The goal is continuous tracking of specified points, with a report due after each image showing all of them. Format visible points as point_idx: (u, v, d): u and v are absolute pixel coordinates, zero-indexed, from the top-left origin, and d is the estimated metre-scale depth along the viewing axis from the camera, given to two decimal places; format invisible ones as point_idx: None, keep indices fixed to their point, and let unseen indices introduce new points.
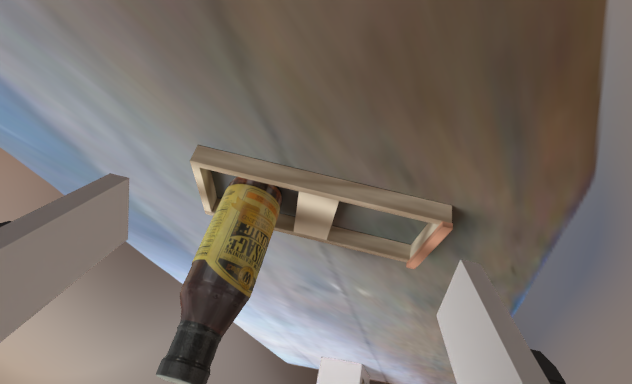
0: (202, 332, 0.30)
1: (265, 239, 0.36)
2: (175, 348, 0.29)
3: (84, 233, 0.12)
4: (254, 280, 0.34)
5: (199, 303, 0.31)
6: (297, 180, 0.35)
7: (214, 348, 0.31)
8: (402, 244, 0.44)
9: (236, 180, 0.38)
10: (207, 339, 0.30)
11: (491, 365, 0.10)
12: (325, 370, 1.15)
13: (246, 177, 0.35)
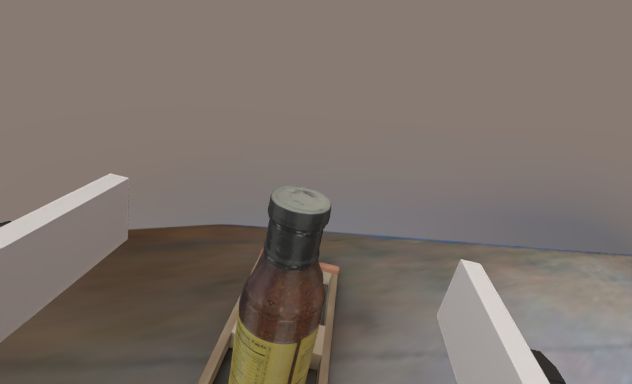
0: None
1: None
2: (270, 228, 0.24)
3: (84, 233, 0.12)
4: None
5: None
6: None
7: None
8: (328, 288, 0.48)
9: None
10: None
11: (491, 365, 0.10)
12: None
13: (208, 376, 0.30)
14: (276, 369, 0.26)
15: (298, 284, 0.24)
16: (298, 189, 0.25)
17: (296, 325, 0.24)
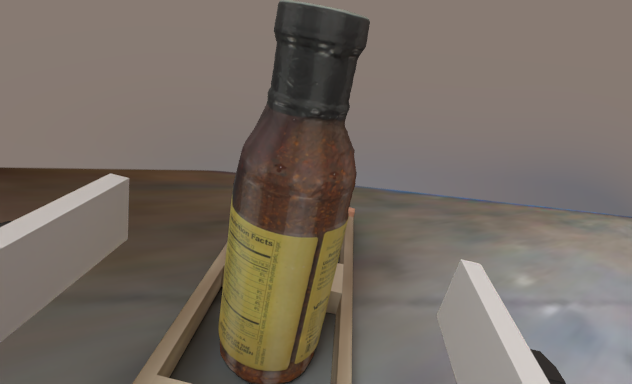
0: None
1: None
2: (278, 54, 0.16)
3: (84, 233, 0.12)
4: None
5: None
6: None
7: None
8: None
9: (222, 351, 0.21)
10: None
11: (491, 365, 0.10)
12: None
13: (192, 310, 0.22)
14: (288, 280, 0.18)
15: (320, 142, 0.16)
16: None
17: (317, 207, 0.16)
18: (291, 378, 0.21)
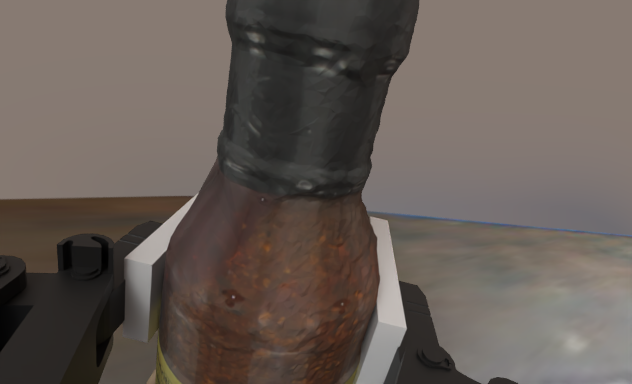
0: None
1: None
2: (233, 68, 0.08)
3: None
4: None
5: None
6: None
7: None
8: None
9: None
10: None
11: None
12: None
13: None
14: None
15: (316, 242, 0.08)
16: None
17: (308, 364, 0.08)
18: None
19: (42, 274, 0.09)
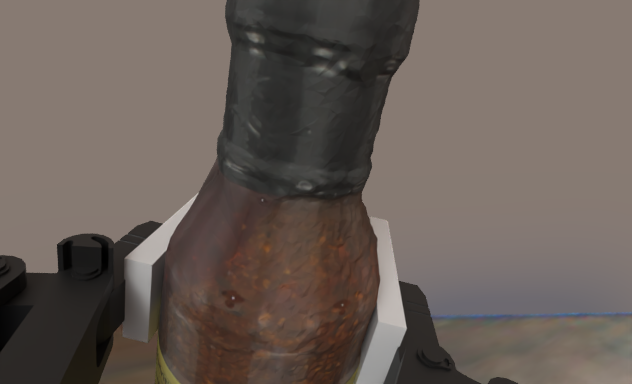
0: None
1: None
2: (232, 68, 0.08)
3: None
4: None
5: None
6: None
7: None
8: None
9: None
10: None
11: None
12: None
13: None
14: None
15: (316, 243, 0.08)
16: None
17: (308, 364, 0.08)
18: None
19: (43, 273, 0.09)
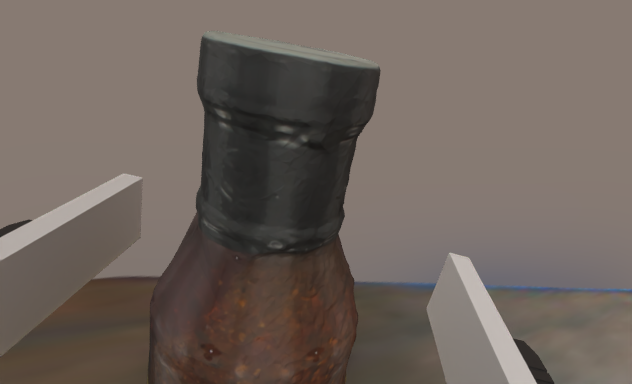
0: None
1: None
2: (205, 134, 0.08)
3: (100, 232, 0.12)
4: None
5: None
6: None
7: None
8: None
9: None
10: None
11: (475, 354, 0.10)
12: None
13: None
14: None
15: (289, 296, 0.08)
16: (286, 43, 0.09)
17: None
18: None
19: None
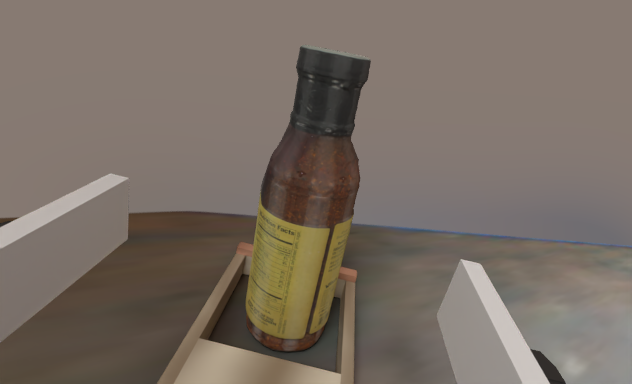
0: None
1: None
2: (300, 86, 0.20)
3: (84, 233, 0.12)
4: None
5: None
6: None
7: None
8: (340, 303, 0.31)
9: (249, 324, 0.26)
10: None
11: (491, 365, 0.10)
12: None
13: None
14: (306, 262, 0.22)
15: (332, 153, 0.21)
16: None
17: (330, 204, 0.21)
18: (306, 346, 0.25)
19: None
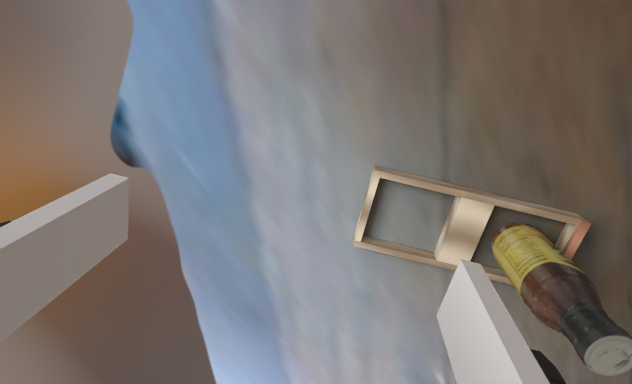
0: (601, 309, 0.31)
1: None
2: (593, 320, 0.30)
3: (84, 233, 0.12)
4: None
5: (578, 289, 0.33)
6: (459, 188, 0.44)
7: None
8: None
9: (509, 226, 0.45)
10: None
11: (491, 365, 0.10)
12: None
13: (419, 185, 0.44)
14: (511, 273, 0.40)
15: (550, 317, 0.34)
16: (631, 356, 0.28)
17: (528, 301, 0.37)
18: None
19: None
